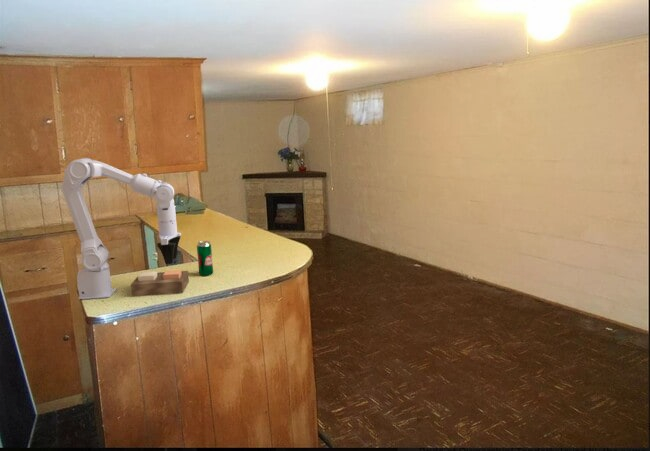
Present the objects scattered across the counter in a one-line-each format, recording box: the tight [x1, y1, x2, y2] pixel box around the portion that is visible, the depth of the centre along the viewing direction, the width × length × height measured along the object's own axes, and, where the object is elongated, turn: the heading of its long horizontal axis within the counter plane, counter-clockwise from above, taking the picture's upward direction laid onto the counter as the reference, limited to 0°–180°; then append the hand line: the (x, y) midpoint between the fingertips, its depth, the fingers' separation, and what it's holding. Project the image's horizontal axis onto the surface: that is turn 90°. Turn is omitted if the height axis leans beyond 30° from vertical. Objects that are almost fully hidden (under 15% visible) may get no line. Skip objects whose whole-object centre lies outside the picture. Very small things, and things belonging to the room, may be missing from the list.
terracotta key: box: [163, 269, 182, 280], centre depth 166 cm, size 5×5×2 cm
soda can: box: [196, 240, 214, 277], centre depth 181 cm, size 5×5×12 cm
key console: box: [130, 270, 190, 297], centre depth 166 cm, size 16×12×4 cm
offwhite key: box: [137, 270, 158, 281], centre depth 166 cm, size 5×5×2 cm
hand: (171, 261), depth 165 cm, fingers open, 6 cm apart
